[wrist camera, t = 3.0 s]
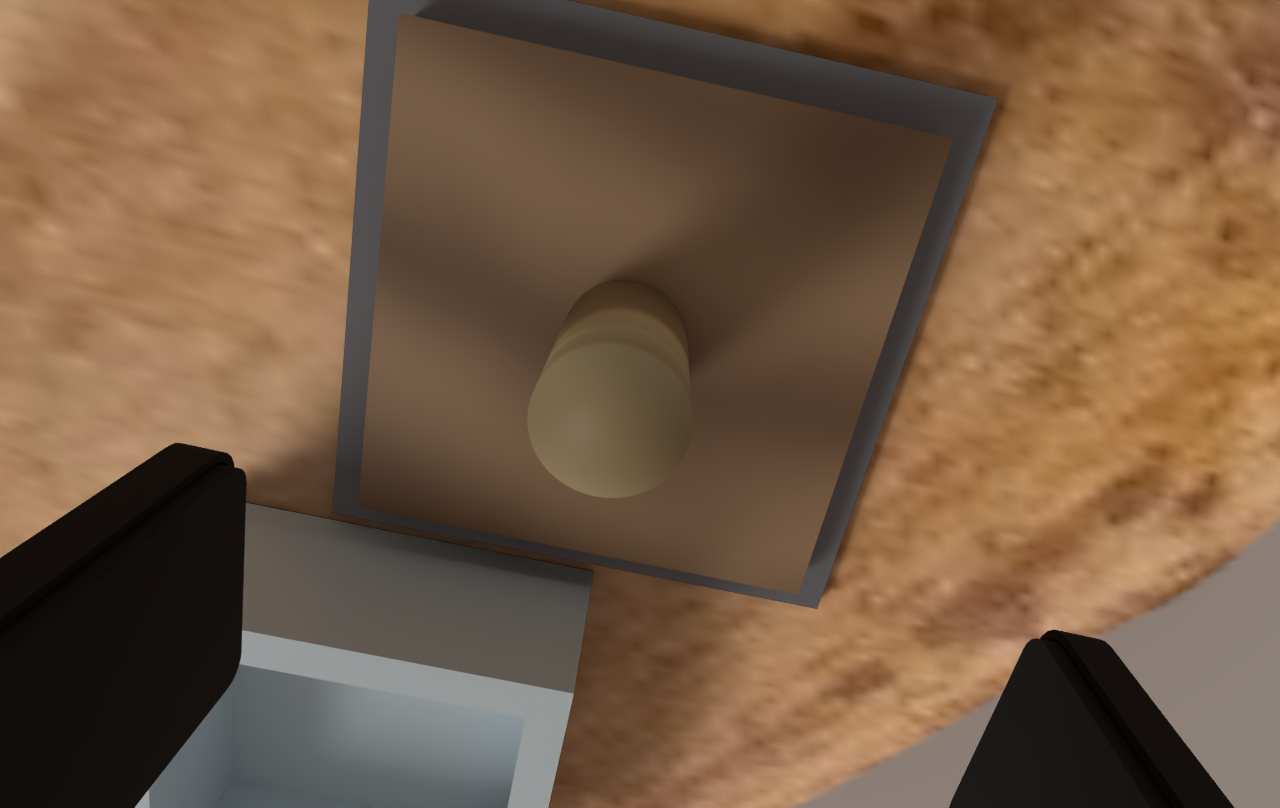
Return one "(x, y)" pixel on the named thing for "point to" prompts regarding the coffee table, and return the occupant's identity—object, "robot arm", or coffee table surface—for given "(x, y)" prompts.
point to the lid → (628, 303)
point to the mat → (543, 14)
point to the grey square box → (386, 675)
